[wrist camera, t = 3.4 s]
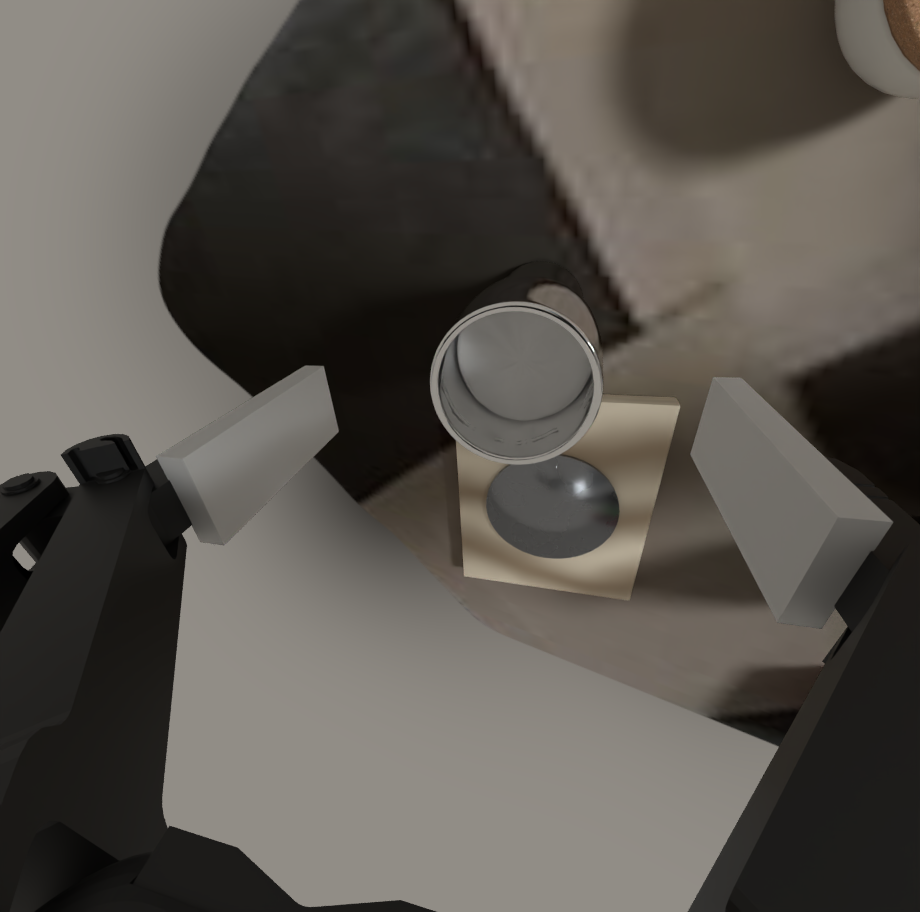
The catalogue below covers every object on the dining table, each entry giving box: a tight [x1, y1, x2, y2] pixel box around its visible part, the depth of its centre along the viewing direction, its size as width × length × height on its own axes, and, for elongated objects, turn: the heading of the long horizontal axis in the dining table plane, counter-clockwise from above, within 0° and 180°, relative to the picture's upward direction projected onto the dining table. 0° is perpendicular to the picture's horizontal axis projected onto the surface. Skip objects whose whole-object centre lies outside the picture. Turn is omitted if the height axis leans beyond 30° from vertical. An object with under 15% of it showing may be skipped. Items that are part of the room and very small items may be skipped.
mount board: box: [456, 394, 680, 601], centre depth 35 cm, size 20×16×2 cm
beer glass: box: [430, 261, 603, 465], centre depth 21 cm, size 7×7×15 cm
